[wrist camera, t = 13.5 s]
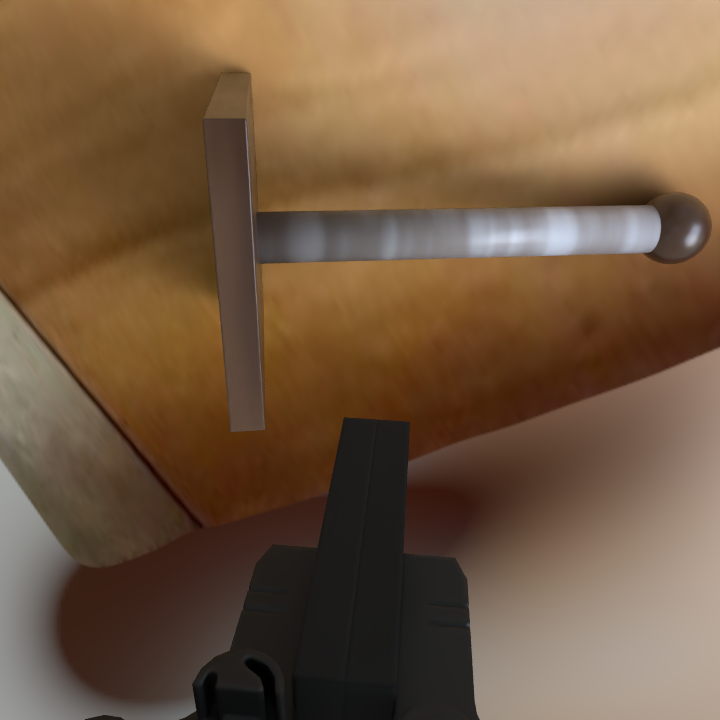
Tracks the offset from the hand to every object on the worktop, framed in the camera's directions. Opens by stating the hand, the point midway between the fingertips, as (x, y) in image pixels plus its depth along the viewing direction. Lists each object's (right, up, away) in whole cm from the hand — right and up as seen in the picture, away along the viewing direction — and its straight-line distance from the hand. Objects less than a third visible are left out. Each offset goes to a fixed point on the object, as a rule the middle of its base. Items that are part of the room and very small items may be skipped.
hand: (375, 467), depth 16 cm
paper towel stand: (+5, +11, +21) cm, 24 cm away
